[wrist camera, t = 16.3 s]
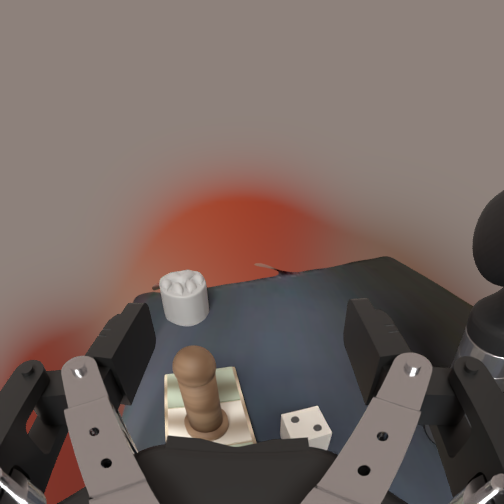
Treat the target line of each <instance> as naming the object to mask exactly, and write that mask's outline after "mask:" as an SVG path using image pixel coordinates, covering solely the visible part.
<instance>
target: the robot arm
mask: <svg viewBox="0 0 504 504" xmlns="http://www.w3.org/2000/svg"><path fill="white" fill-rule="evenodd" d="M473 257H474V260H475V264H476V266H477V268H478V270H479V272H480V273H481V275H482V276H483V277H484V278H485V279H486V280H488V281H489V282H491V283H493V284H495V285H499V286H503V288H502V289H501V290H499V291H498V292H496V293H494V294H492V295H490V296H487V297H485V298H483V299H481V300H479V301H478V302H477V303H476V304H475V305H474V306H473V308H472V310H471V313H470V315H469V319H468V322H467V325H466V328H465V331H464V333H463V336H462V339H461V342H460V344H459V347H458V350H457V352H456V355H455V357H454V360H453V362H452V364H451V367H450V368H441V367H432V365H431V363H430V361H429V360H428V359H427V358H425V357H424V356H422V355H420V354H417V353H412V351H411V350H410V348H409V347H408V345H407V343H406V342H405V340H404V338H403V337H402V335H401V334H400V332H398V329H397V327H396V326H395V325H394V322H393V321H392V319H391V318H390V316H389V315H387V314H386V313H385V312H383V311H382V310H380V309H379V310H375V309H374V307H373V305H372V304H371V302H370V301H369V299H368V298H363V299H350V300H349V301H348V305H347V313H346V320H345V327H344V345H345V348H346V351H347V354H348V356H349V359H350V362H351V365H352V368H353V370H354V373H355V376H356V379H357V382H358V385H359V388H360V391H361V394H362V396H363V399H364V402H365V405H369V406H368V408H367V409H366V411H365V413H364V415H363V416H362V418H361V420H360V421H359V423H358V425H357V426H356V428H355V430H354V431H353V433H352V435H351V436H350V438H349V439H348V441H347V443H346V444H345V446H344V447H343V449H342V450H341V452H340V453H339V455H337V454H335V453H332V452H330V451H327V450H324V449H320V448H316V447H309V442H308V437H305V438H291V439H272V440H268V441H264V442H259V443H255V444H250V445H245V446H240V447H233V446H228V445H224V444H220V443H216V442H212V441H209V440H205V439H201V438H190V437H179V436H170V435H168V436H167V440H166V444H165V445H158V446H153V447H150V448H147V449H144V450H142V451H139V452H138V450H137V448H136V446H135V444H134V442H133V440H132V438H131V436H130V434H129V432H128V430H127V428H126V426H125V424H124V421H123V419H122V417H121V415H120V413H119V411H118V408H119V406H120V404H124V405H131V404H132V402H133V399H134V397H135V394H136V392H137V389H138V387H139V385H140V382H141V380H142V377H143V375H144V372H145V370H146V368H147V365H148V363H149V361H150V358H151V356H152V353H153V351H154V349H155V344H156V337H155V332H154V328H153V324H152V319H151V315H150V311H149V307H148V305H147V304H146V303H128V304H127V306H126V307H125V308H124V310H123V312H122V313H121V314H117V315H116V316H114V317H113V318H112V319H110V320H109V321H108V322H107V324H106V325H105V327H104V328H103V330H102V331H101V332H100V334H99V336H98V337H97V338H96V340H95V341H94V343H93V344H92V346H91V347H90V349H89V350H88V352H87V353H86V355H85V356H78V357H75V358H72V359H70V360H69V361H67V362H66V363H65V365H64V366H63V368H62V370H56V371H46V370H45V368H44V366H43V364H42V363H41V362H40V361H37V360H30V361H26V362H24V363H22V364H21V365H19V366H18V367H17V368H16V370H15V371H14V372H13V374H12V375H11V377H10V378H9V380H8V381H7V382H6V384H5V385H4V387H3V388H2V390H1V391H0V504H46V498H45V496H44V492H45V489H46V486H47V484H48V481H49V478H50V475H51V473H52V470H53V468H54V465H55V462H56V460H57V457H58V455H59V452H60V450H61V447H62V445H63V442H64V440H65V438H66V435H67V433H68V431H69V434H70V438H71V442H72V445H73V448H74V452H75V455H76V459H77V462H78V465H79V468H80V471H81V474H82V477H83V480H84V482H85V485H86V487H84V488H82V489H81V490H79V491H78V492H76V493H74V494H73V495H71V496H69V497H68V498H66V499H64V500H63V501H61V502H59V503H57V504H408V503H406V502H405V501H403V500H402V499H400V498H399V497H397V496H396V495H394V494H393V493H391V492H390V491H388V489H389V487H390V485H391V483H392V481H393V479H394V477H395V475H396V473H397V471H398V469H399V467H400V464H401V462H402V460H403V458H404V455H405V453H406V451H407V448H408V446H409V444H410V441H411V439H412V436H413V434H414V431H415V428H416V426H417V425H425V430H426V433H427V435H428V436H429V438H430V439H431V440H432V441H433V442H434V443H435V444H436V446H437V449H438V452H439V455H440V458H441V461H442V464H443V467H444V470H445V473H446V476H447V479H448V482H449V486H450V489H451V492H452V496H453V498H452V499H451V501H450V502H449V504H504V394H503V391H504V190H503V191H502V192H501V193H499V194H498V195H496V196H495V197H494V198H493V199H492V200H491V201H490V202H489V203H488V204H487V205H486V207H485V208H484V210H483V212H482V213H481V215H480V217H479V219H478V222H477V225H476V228H475V232H474V236H473ZM33 409H34V411H35V412H36V414H37V415H38V416H37V418H36V420H35V422H34V424H33V425H32V427H31V429H30V431H29V433H28V434H27V432H26V422H27V420H28V418H29V416H30V415H31V412H32V411H33Z"/></svg>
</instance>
